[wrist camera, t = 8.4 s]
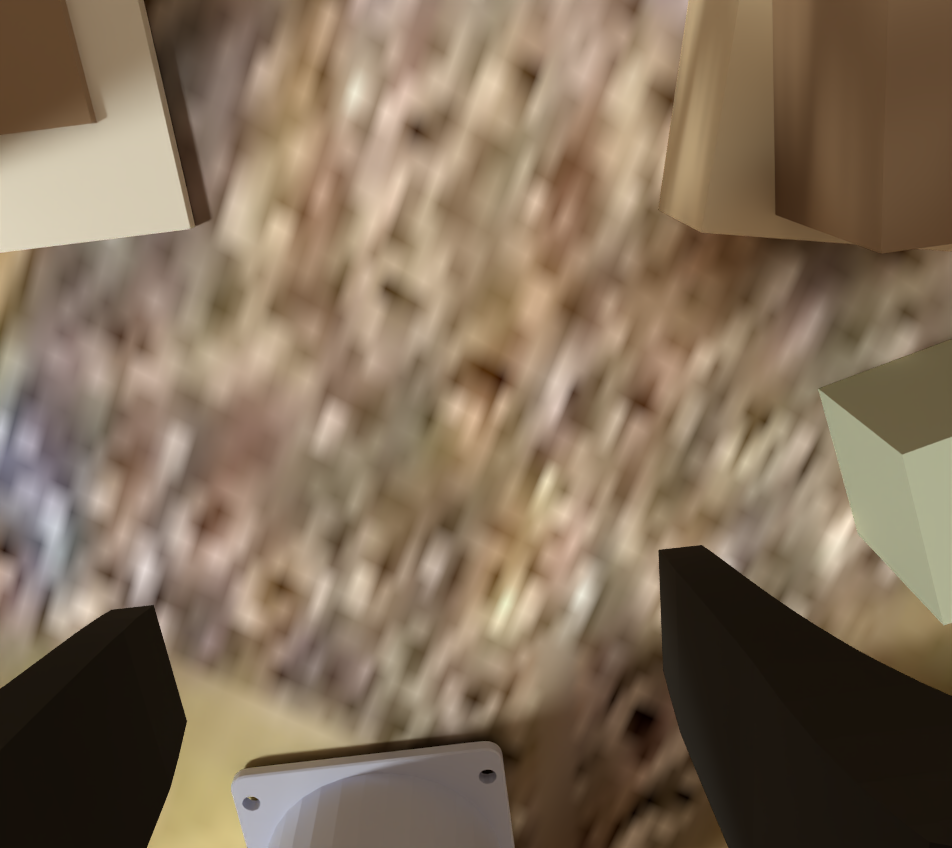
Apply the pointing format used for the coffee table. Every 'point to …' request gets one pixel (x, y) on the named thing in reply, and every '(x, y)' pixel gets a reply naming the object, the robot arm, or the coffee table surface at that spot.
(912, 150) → the walnut cube
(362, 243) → the coffee table surface
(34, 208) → the card
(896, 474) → the sage cube
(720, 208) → the maple base
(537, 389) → the coffee table surface
